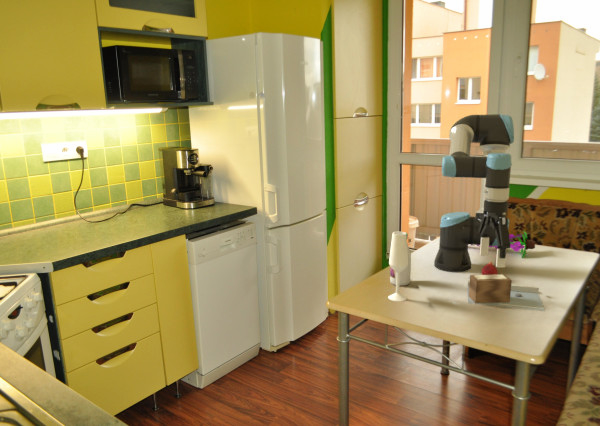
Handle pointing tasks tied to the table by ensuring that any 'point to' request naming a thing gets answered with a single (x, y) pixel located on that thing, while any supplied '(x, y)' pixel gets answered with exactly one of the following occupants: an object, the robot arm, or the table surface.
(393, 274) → the milk bottle
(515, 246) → the potted plant
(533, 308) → the wall panel
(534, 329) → the table surface
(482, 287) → the frame
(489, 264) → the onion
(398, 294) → the champagne flute
